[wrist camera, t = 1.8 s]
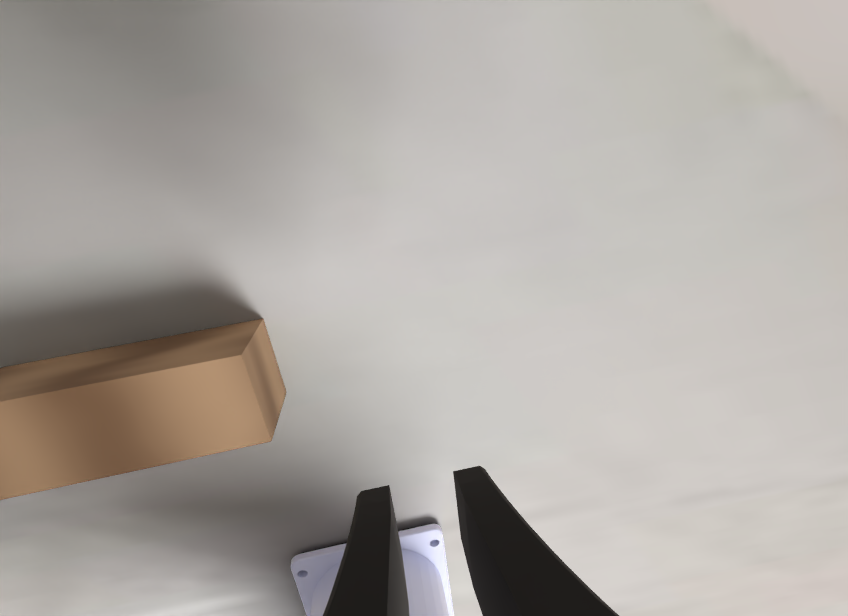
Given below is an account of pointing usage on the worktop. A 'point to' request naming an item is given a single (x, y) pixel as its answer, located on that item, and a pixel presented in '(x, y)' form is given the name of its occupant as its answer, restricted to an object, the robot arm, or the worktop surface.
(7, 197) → the worktop surface
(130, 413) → the tan rectangular block
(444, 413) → the worktop surface
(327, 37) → the worktop surface
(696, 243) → the worktop surface
